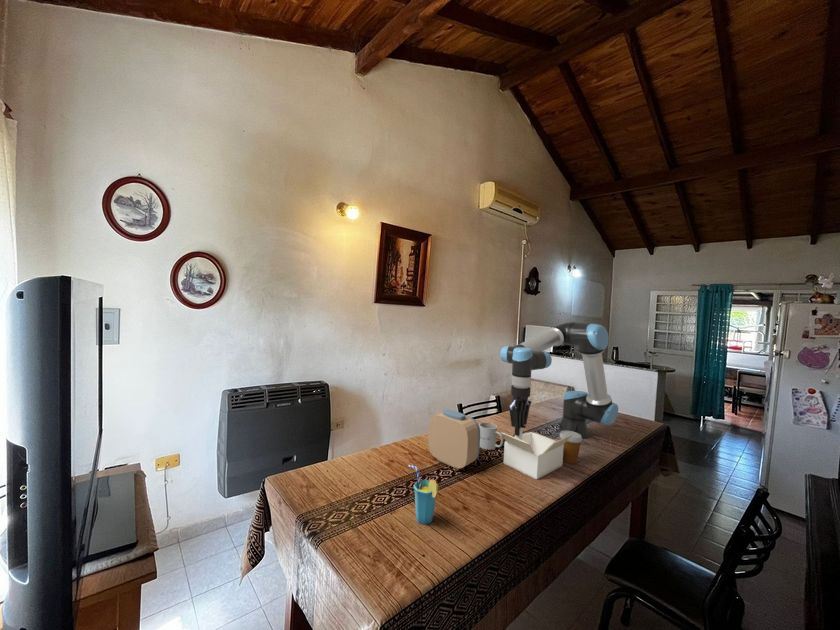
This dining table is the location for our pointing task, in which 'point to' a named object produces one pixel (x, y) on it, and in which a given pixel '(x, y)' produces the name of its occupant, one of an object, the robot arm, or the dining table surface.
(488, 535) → the dining table surface
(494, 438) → the mug
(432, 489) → the cup
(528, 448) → the short flap
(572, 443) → the disposable coffee cup
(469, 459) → the alarm clock
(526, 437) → the carton
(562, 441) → the long flap
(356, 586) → the dining table surface
